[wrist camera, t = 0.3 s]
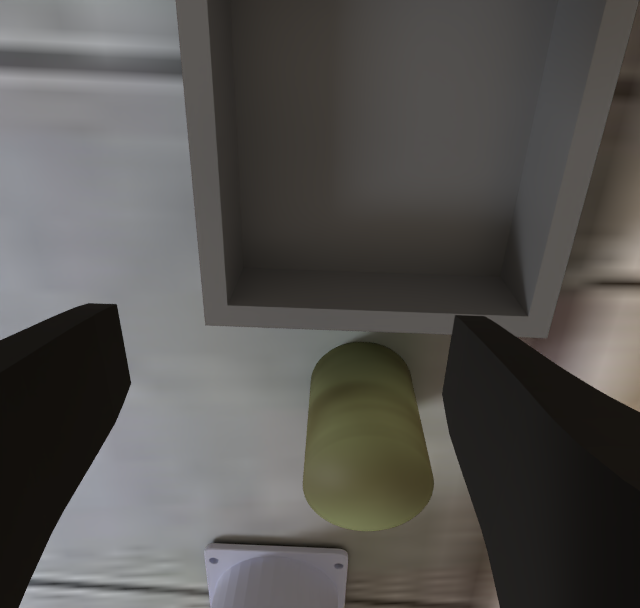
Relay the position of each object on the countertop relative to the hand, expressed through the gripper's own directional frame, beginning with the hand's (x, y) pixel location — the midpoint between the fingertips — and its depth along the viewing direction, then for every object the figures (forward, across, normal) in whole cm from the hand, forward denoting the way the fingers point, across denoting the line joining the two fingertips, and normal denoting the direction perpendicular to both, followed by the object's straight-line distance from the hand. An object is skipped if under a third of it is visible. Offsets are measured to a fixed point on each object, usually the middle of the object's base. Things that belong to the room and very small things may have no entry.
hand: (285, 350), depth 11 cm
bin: (+10, -3, -3) cm, 10 cm away
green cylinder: (+10, -2, +8) cm, 13 cm away
